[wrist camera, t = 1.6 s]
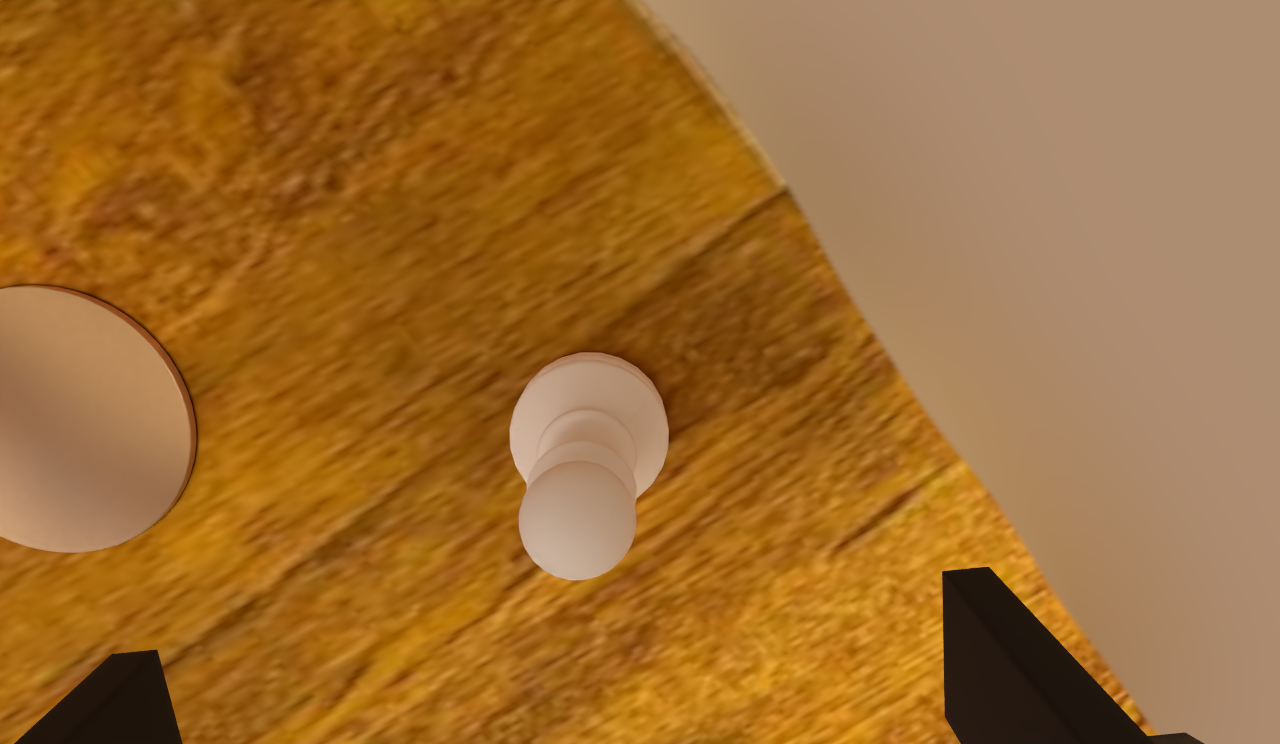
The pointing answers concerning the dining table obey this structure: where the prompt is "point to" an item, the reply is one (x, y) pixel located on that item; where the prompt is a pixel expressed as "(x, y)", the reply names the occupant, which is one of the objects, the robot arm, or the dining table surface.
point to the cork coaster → (86, 423)
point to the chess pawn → (585, 460)
